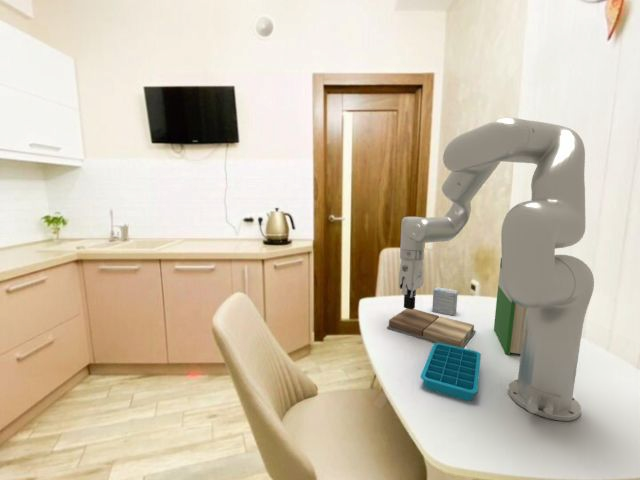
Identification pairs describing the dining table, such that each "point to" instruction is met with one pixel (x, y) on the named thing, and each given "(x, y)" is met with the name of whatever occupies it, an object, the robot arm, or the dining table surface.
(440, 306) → the medicine box
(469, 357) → the ice cube tray
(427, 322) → the walnut plank
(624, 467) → the dining table surface
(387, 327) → the underlay mat
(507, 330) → the hardback book
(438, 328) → the oak plank
